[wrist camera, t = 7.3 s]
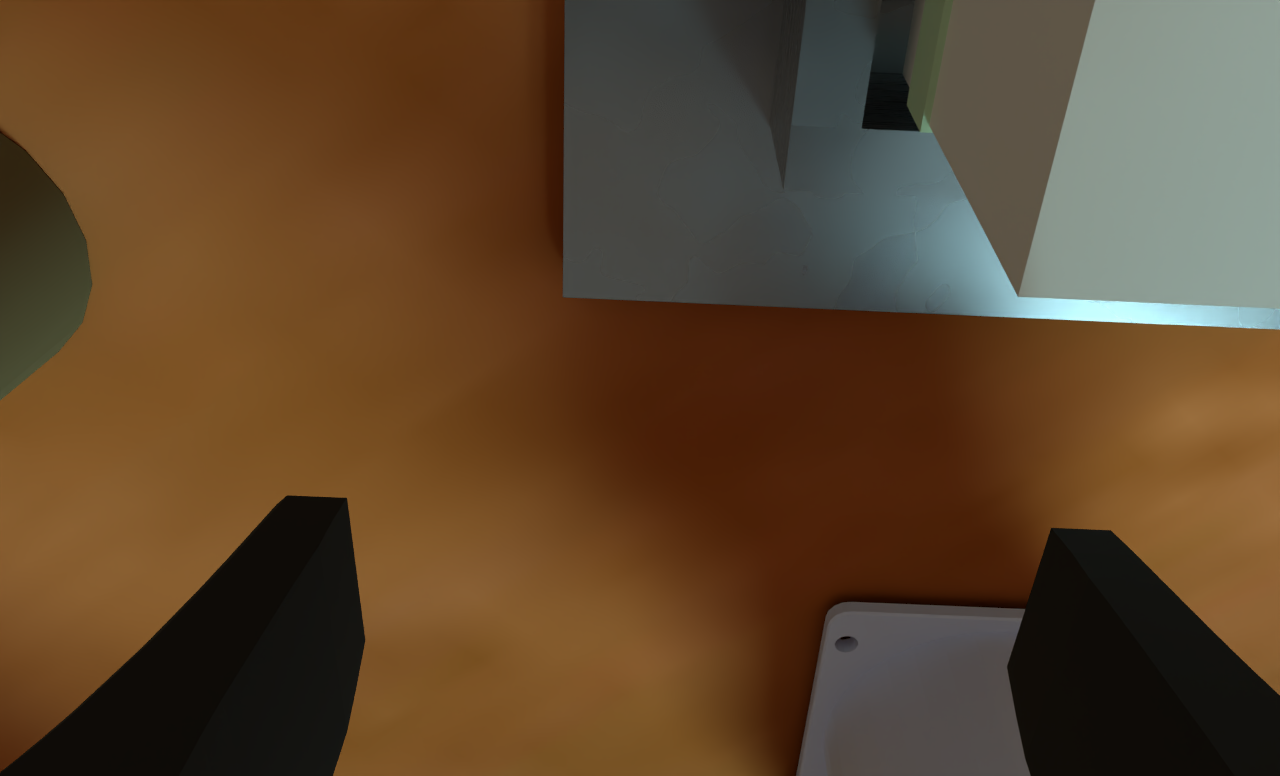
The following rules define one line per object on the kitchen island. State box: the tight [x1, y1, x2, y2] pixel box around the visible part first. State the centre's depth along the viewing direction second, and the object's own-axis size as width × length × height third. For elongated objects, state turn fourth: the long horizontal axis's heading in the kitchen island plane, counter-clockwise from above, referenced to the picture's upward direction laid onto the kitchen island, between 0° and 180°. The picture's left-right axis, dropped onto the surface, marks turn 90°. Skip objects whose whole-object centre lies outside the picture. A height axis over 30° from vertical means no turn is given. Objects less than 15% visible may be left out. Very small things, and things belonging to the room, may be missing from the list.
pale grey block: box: [902, 0, 1280, 309], centre depth 13 cm, size 4×4×6 cm
